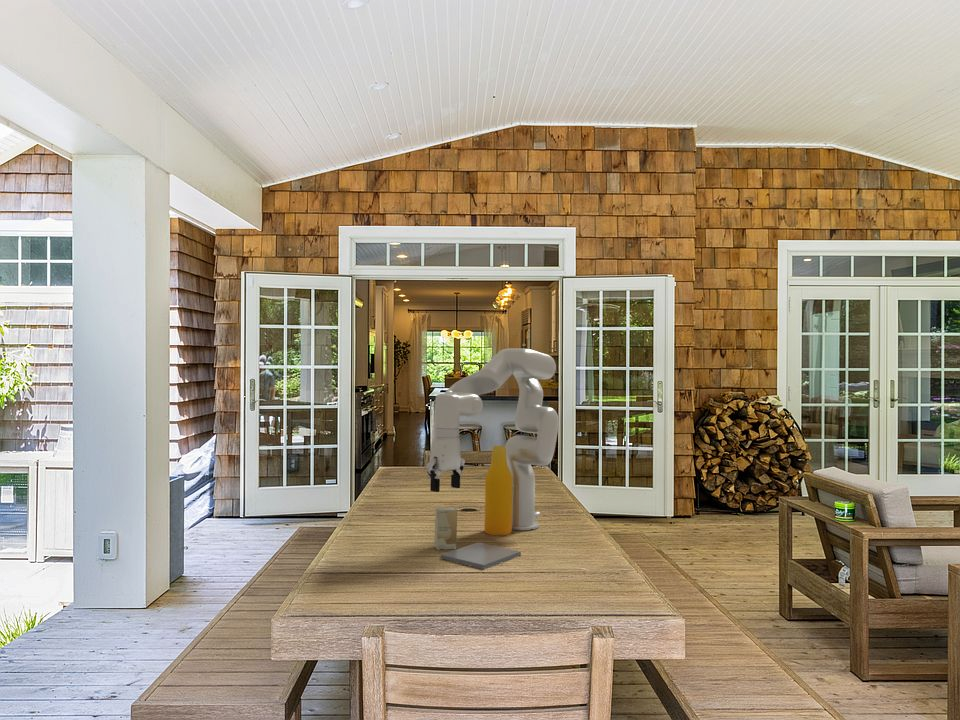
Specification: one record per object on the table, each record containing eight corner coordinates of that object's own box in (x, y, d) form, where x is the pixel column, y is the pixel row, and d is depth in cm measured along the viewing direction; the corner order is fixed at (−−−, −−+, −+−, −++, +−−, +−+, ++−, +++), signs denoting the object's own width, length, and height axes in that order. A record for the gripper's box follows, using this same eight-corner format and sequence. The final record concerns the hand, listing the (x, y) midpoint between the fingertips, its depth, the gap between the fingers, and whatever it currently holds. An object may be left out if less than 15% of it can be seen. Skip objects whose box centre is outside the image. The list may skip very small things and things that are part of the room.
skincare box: (436, 550, 214) (437, 510, 214) (434, 546, 218) (434, 507, 218) (457, 549, 215) (458, 509, 215) (454, 545, 219) (454, 506, 219)
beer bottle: (509, 536, 231) (510, 448, 231) (481, 535, 233) (483, 447, 233) (513, 530, 240) (514, 445, 240) (487, 528, 242) (488, 444, 242)
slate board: (478, 546, 219) (478, 542, 219) (520, 555, 209) (520, 551, 209) (440, 558, 205) (440, 554, 205) (484, 569, 195) (484, 565, 195)
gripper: (455, 431, 226) (453, 484, 225) (418, 434, 212) (417, 491, 212) (473, 433, 221) (472, 487, 221) (437, 436, 207) (436, 494, 207)
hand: (445, 489), depth 216 cm, fingers open, 9 cm apart
